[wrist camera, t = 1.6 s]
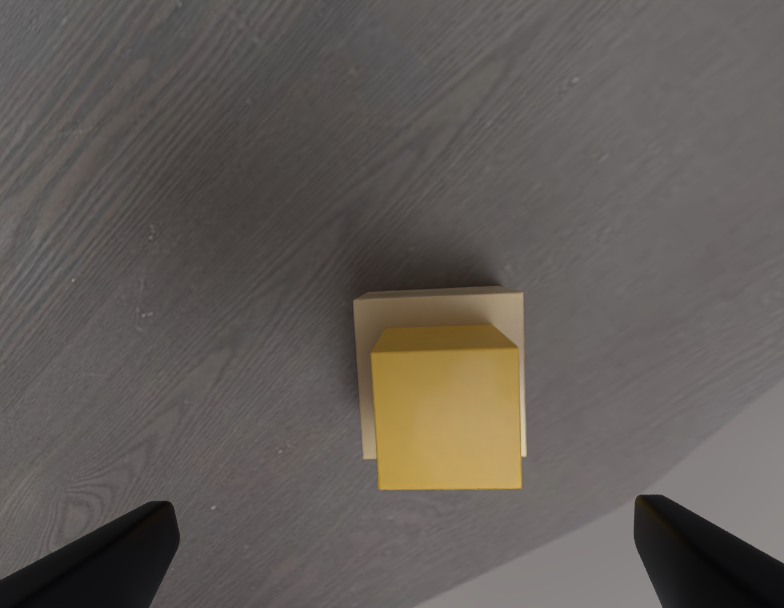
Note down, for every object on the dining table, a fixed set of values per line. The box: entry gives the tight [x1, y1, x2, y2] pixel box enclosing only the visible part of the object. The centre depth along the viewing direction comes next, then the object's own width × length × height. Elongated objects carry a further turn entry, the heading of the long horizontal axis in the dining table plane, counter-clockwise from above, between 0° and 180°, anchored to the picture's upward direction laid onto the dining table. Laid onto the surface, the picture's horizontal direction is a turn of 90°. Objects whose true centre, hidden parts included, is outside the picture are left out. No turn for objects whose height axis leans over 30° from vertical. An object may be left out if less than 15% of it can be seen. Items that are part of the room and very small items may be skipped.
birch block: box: [353, 286, 527, 459], centre depth 19 cm, size 7×7×4 cm
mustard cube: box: [370, 324, 522, 490], centre depth 15 cm, size 4×4×4 cm
